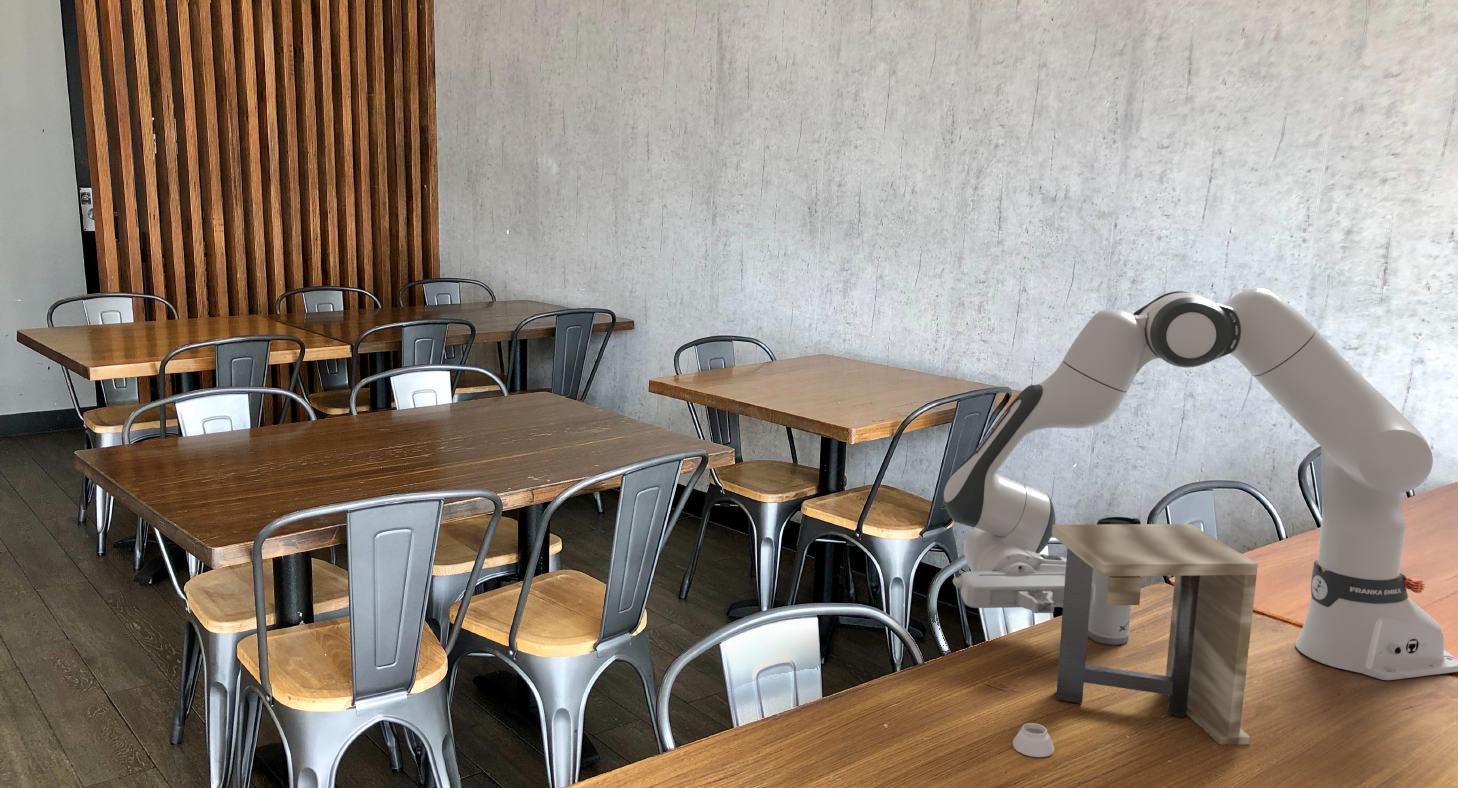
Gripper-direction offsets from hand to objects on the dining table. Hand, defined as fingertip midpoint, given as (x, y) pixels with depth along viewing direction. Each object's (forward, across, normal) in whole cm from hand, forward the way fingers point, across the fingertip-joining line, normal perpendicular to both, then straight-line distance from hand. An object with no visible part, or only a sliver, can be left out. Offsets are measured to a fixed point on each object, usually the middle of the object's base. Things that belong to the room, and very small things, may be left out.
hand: (1044, 608), depth 158 cm
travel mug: (-12, +16, +10) cm, 22 cm away
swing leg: (+11, +7, +10) cm, 17 cm away
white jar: (+23, -9, +10) cm, 27 cm away
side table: (+14, +8, +10) cm, 19 cm away
